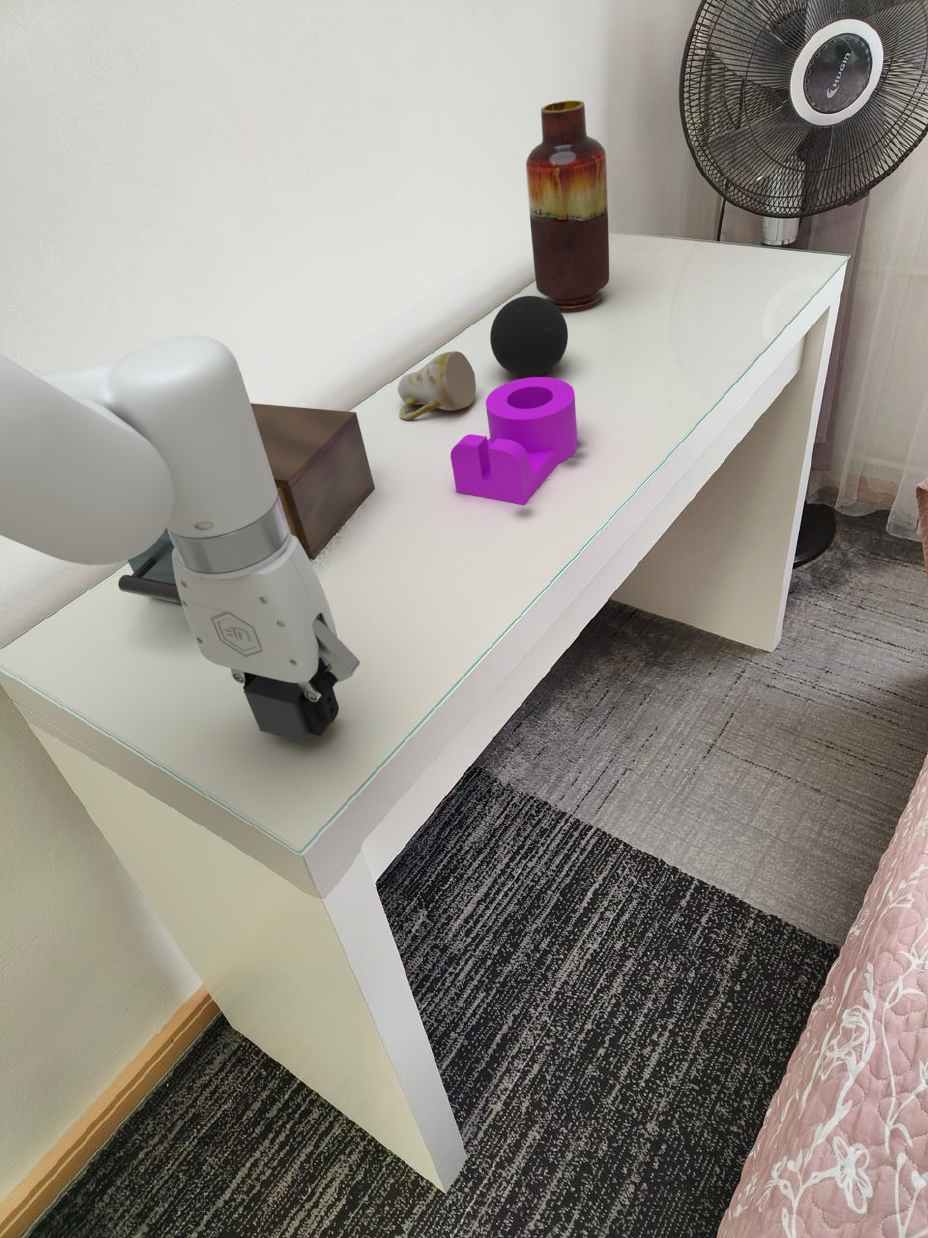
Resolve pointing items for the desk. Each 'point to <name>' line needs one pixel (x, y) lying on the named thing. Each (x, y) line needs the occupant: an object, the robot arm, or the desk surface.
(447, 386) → the mug
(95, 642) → the desk surface
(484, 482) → the tape dispenser
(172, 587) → the drawer
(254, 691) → the block
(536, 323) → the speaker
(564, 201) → the vase
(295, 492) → the cabinet
